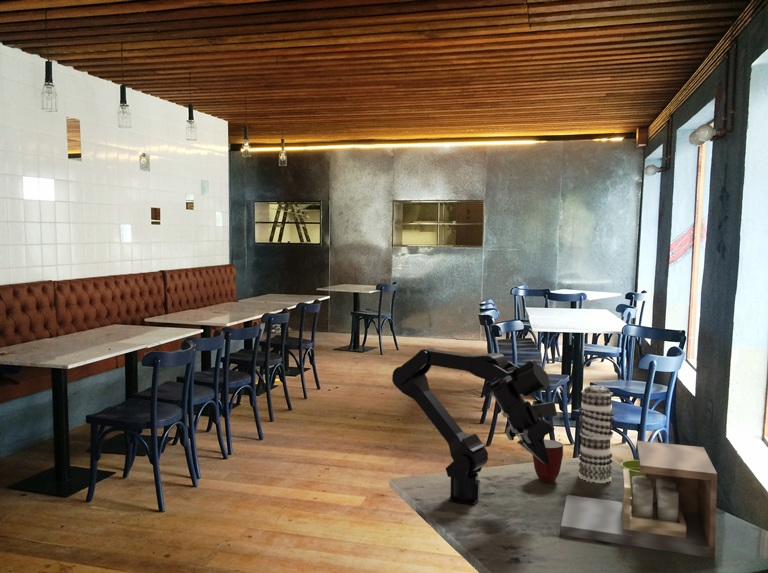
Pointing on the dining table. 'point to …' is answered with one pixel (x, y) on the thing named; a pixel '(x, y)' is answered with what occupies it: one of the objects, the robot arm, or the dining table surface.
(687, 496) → the wooden display stand
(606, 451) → the white patterned cylinder
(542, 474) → the mug
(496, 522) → the dining table surface
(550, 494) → the dining table surface
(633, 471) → the plant pot
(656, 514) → the tray
